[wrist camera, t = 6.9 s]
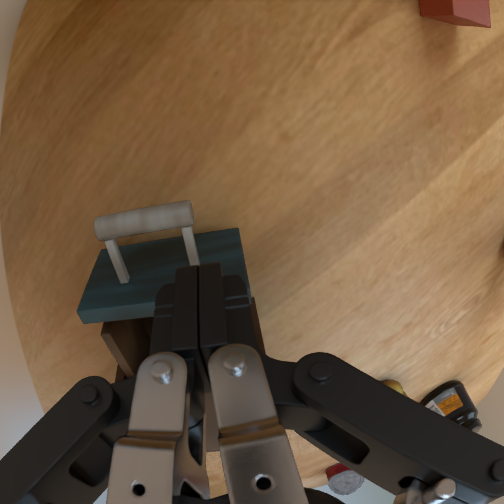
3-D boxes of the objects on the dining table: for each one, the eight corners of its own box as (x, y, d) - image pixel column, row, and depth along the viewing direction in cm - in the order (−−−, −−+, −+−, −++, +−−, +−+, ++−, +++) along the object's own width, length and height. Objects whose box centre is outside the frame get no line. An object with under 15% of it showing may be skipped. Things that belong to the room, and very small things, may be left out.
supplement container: (416, 398, 51) (439, 448, 42) (461, 371, 50) (488, 418, 40) (419, 413, 57) (438, 457, 47) (459, 389, 55) (481, 431, 45)
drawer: (81, 195, 22) (43, 248, 16) (230, 166, 22) (240, 214, 16) (148, 353, 32) (142, 412, 26) (254, 340, 33) (264, 400, 27)
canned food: (323, 459, 76) (314, 488, 68) (340, 449, 70) (331, 481, 62) (356, 469, 74) (348, 498, 67) (375, 460, 68) (368, 491, 60)
